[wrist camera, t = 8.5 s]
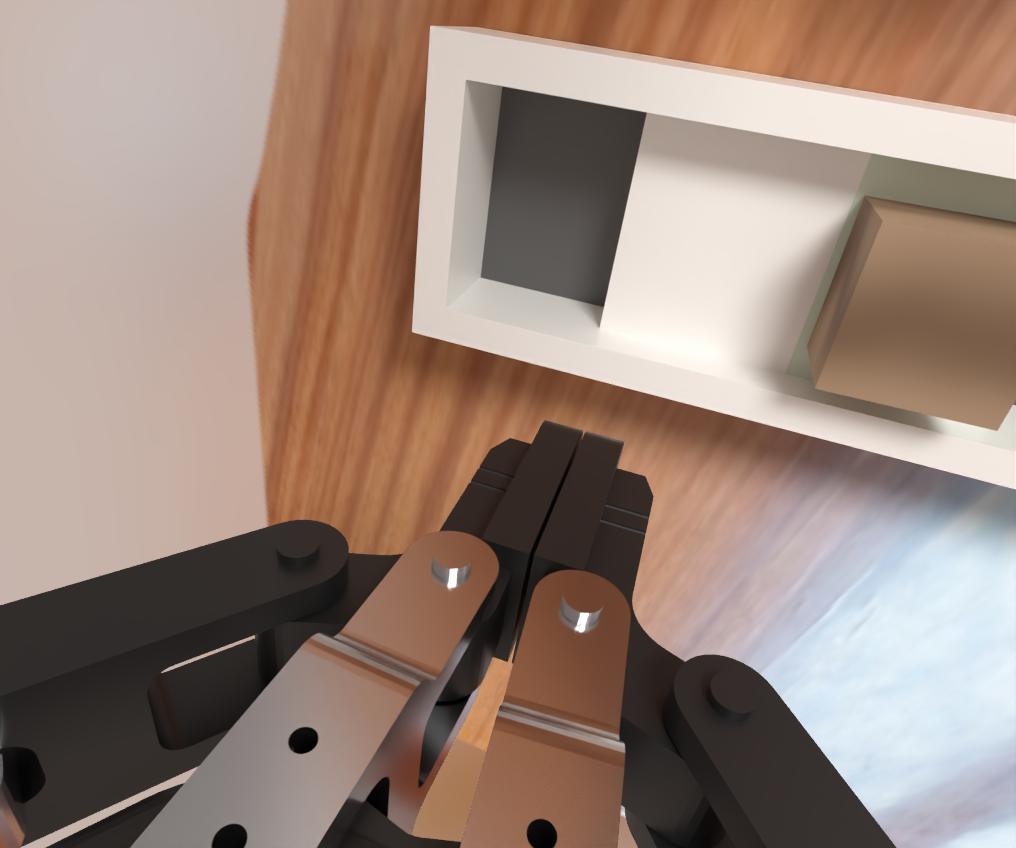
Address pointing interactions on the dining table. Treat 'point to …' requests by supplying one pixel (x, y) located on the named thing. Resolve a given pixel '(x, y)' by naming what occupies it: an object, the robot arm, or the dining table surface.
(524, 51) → the tray
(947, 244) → the walnut block
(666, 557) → the dining table surface
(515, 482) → the robot arm
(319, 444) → the dining table surface
